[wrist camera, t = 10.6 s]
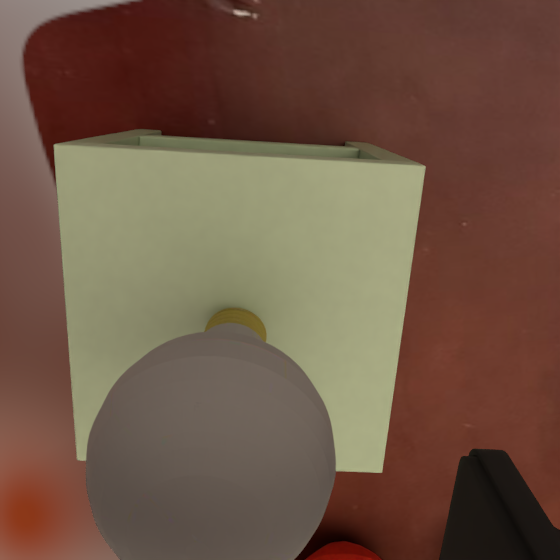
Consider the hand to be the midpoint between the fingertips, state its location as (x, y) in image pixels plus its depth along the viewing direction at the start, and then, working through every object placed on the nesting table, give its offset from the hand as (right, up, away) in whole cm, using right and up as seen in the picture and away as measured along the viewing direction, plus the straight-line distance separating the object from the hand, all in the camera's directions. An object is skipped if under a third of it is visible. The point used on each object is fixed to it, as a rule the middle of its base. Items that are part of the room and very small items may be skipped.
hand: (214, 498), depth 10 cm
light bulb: (0, +3, +9) cm, 9 cm away
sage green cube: (0, +6, +19) cm, 20 cm away
